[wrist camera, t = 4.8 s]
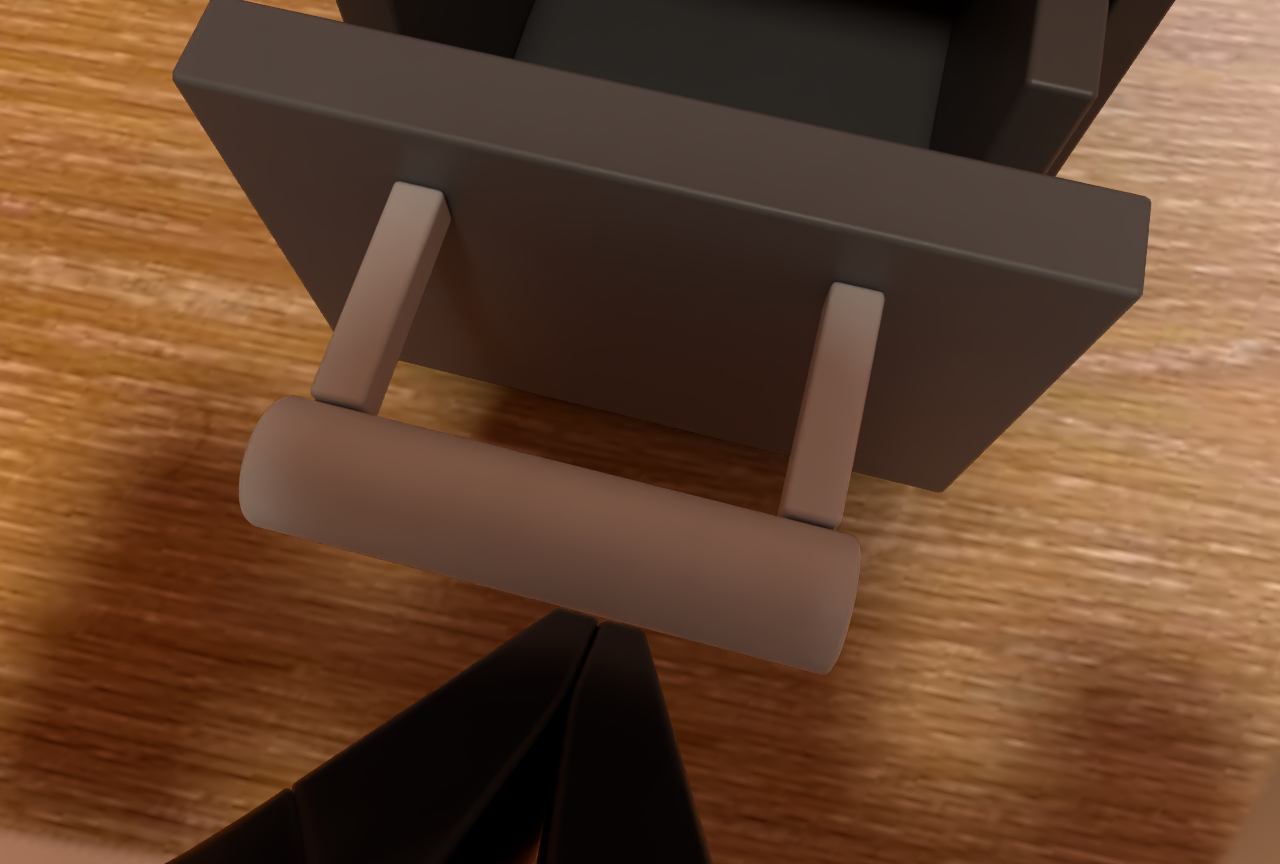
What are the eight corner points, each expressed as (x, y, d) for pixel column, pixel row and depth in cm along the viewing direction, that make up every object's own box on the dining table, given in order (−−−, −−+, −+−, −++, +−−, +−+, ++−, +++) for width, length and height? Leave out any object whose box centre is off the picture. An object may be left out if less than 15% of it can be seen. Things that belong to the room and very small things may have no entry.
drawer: (901, 756, 14) (1108, 724, 8) (247, 581, 15) (-21, 429, 9) (1027, -37, 20) (1212, -427, 13) (535, -136, 21) (493, -547, 14)
